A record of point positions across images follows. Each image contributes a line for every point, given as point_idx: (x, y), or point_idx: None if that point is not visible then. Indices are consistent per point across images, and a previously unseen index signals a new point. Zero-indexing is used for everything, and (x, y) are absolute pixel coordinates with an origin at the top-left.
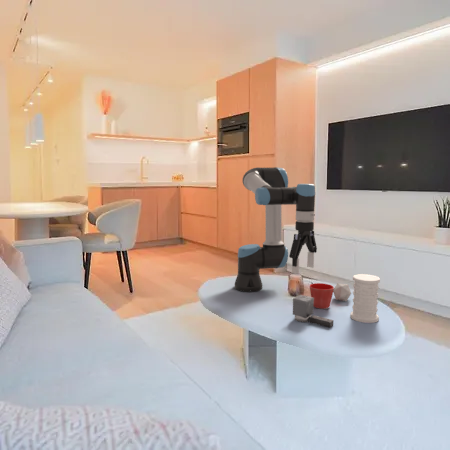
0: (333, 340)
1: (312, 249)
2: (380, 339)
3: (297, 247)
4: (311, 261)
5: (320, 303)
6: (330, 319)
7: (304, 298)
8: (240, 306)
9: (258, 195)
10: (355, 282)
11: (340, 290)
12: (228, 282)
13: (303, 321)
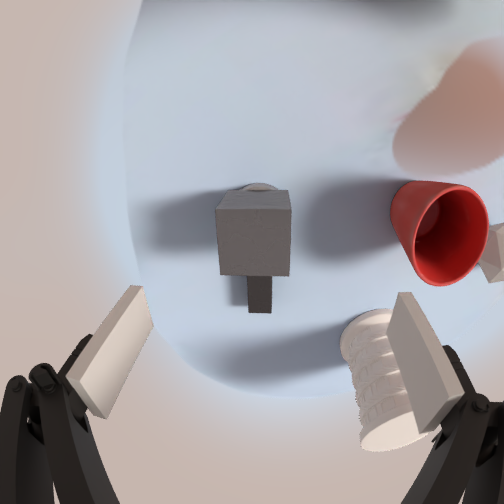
0: (186, 328)
1: (423, 465)
2: (262, 386)
3: (39, 491)
4: (403, 359)
5: (395, 227)
6: (270, 305)
7: (251, 250)
8: None
9: None
10: (389, 406)
11: (491, 262)
12: None
13: None
